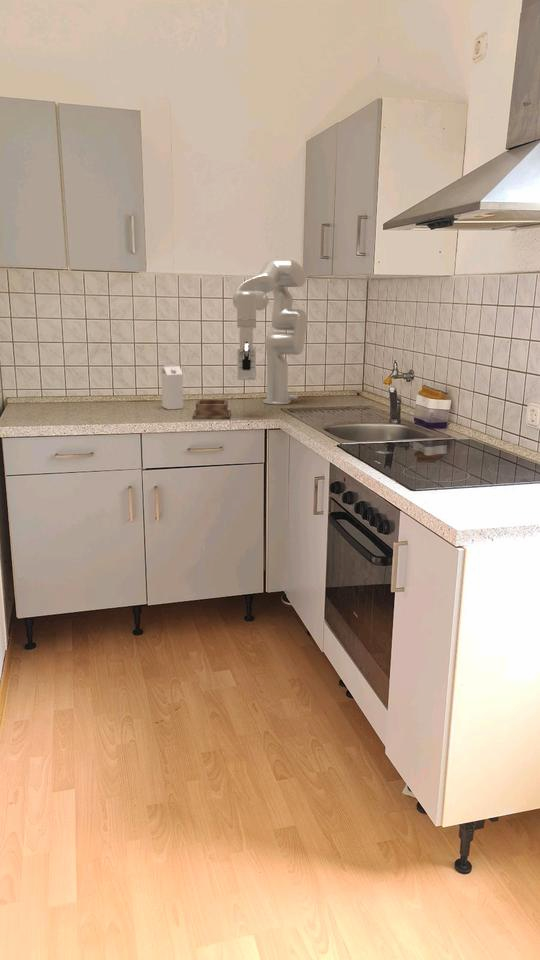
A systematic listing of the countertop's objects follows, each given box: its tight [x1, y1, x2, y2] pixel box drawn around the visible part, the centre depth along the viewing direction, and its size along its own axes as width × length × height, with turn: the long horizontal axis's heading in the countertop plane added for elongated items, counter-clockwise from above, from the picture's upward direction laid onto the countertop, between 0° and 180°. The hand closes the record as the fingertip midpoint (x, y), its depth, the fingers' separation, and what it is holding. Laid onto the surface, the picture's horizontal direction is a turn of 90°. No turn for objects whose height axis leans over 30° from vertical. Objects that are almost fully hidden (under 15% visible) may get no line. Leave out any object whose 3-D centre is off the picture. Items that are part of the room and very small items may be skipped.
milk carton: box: [160, 363, 184, 410], centre depth 303 cm, size 7×7×19 cm
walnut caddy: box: [191, 399, 232, 420], centre depth 288 cm, size 15×15×6 cm
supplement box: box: [236, 346, 257, 381], centre depth 284 cm, size 7×7×13 cm
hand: (246, 368), depth 284 cm, fingers closed on supplement box, 7 cm apart
